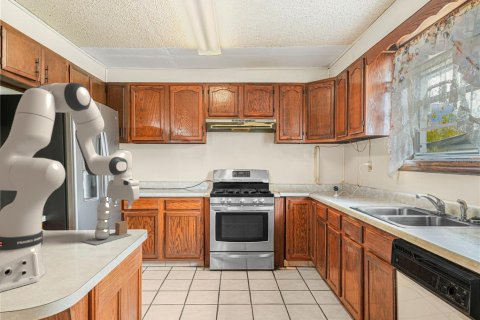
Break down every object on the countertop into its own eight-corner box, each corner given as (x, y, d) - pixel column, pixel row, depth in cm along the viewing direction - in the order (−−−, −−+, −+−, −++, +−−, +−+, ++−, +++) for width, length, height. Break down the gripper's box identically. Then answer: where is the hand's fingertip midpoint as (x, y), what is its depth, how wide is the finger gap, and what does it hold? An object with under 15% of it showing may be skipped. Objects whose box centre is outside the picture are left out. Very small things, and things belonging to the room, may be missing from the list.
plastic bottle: (111, 237, 137) (115, 197, 137) (104, 241, 130) (108, 198, 131) (99, 236, 138) (103, 195, 138) (90, 239, 131) (95, 197, 131)
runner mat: (96, 245, 126) (96, 230, 126) (81, 242, 130) (82, 228, 130) (132, 235, 144) (132, 222, 144) (118, 232, 149) (118, 220, 149)
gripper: (103, 180, 146) (103, 206, 146) (132, 182, 137) (131, 210, 137) (113, 179, 152) (113, 204, 152) (141, 181, 143) (141, 208, 143)
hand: (122, 207), depth 145 cm, fingers open, 8 cm apart
